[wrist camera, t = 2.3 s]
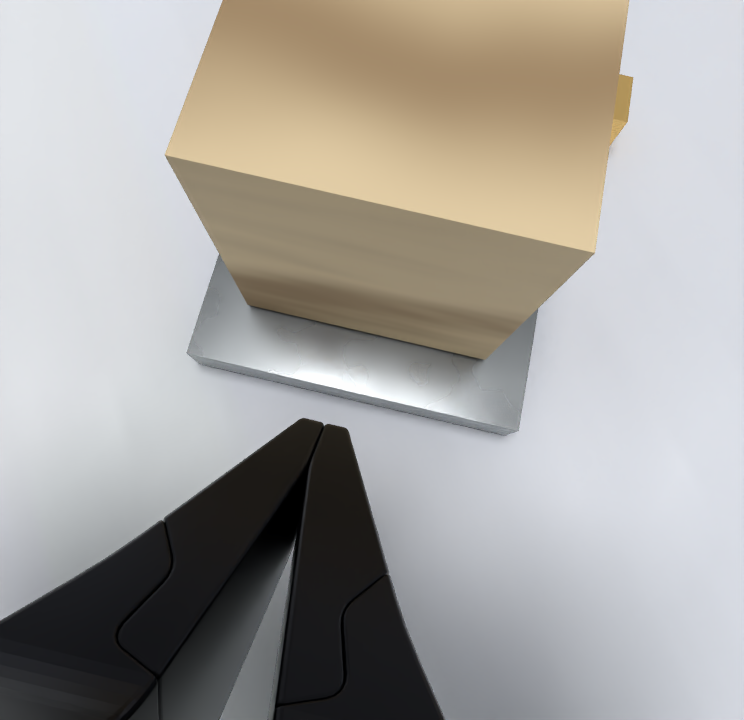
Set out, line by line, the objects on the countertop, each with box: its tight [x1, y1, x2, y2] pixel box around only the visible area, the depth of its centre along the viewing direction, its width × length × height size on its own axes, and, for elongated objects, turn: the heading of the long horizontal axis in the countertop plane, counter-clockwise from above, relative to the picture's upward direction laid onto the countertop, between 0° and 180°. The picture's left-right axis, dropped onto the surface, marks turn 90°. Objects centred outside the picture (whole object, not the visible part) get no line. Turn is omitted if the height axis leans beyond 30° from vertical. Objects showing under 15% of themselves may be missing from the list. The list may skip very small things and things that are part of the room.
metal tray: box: [187, 74, 633, 436], centre depth 19 cm, size 22×15×4 cm
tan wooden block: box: [165, 0, 629, 360], centre depth 14 cm, size 6×8×8 cm
